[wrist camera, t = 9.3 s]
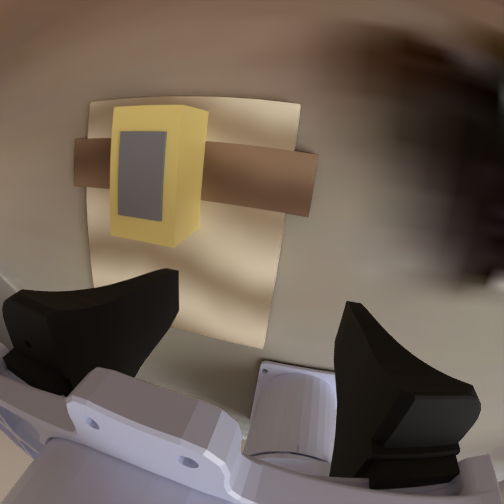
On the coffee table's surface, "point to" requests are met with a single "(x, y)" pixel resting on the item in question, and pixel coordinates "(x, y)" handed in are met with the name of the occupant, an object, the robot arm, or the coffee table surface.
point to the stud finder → (156, 172)
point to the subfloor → (211, 213)
